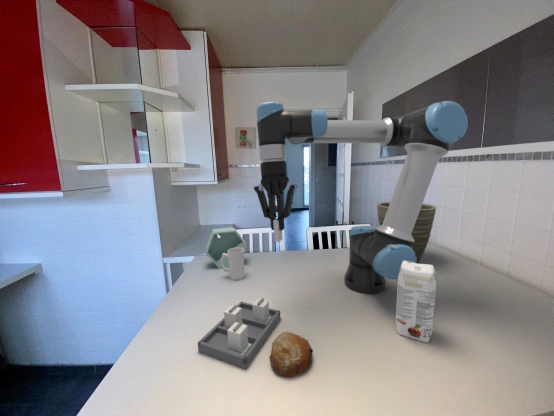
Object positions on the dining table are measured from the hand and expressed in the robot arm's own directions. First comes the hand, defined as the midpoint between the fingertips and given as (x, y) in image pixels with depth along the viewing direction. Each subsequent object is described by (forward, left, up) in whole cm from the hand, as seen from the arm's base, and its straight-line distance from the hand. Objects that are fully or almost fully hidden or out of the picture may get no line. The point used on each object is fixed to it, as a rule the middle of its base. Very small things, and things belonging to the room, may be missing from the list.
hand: (278, 240), depth 71 cm
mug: (+29, -16, -24) cm, 41 cm away
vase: (-38, -61, -24) cm, 76 cm away
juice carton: (-37, -5, -24) cm, 45 cm away
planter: (+40, -27, -24) cm, 54 cm away
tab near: (+3, +19, -22) cm, 30 cm away
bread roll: (-10, +16, -24) cm, 31 cm away
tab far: (+3, +7, -22) cm, 24 cm away
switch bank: (+6, +13, -24) cm, 28 cm away
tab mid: (+9, +13, -22) cm, 27 cm away
